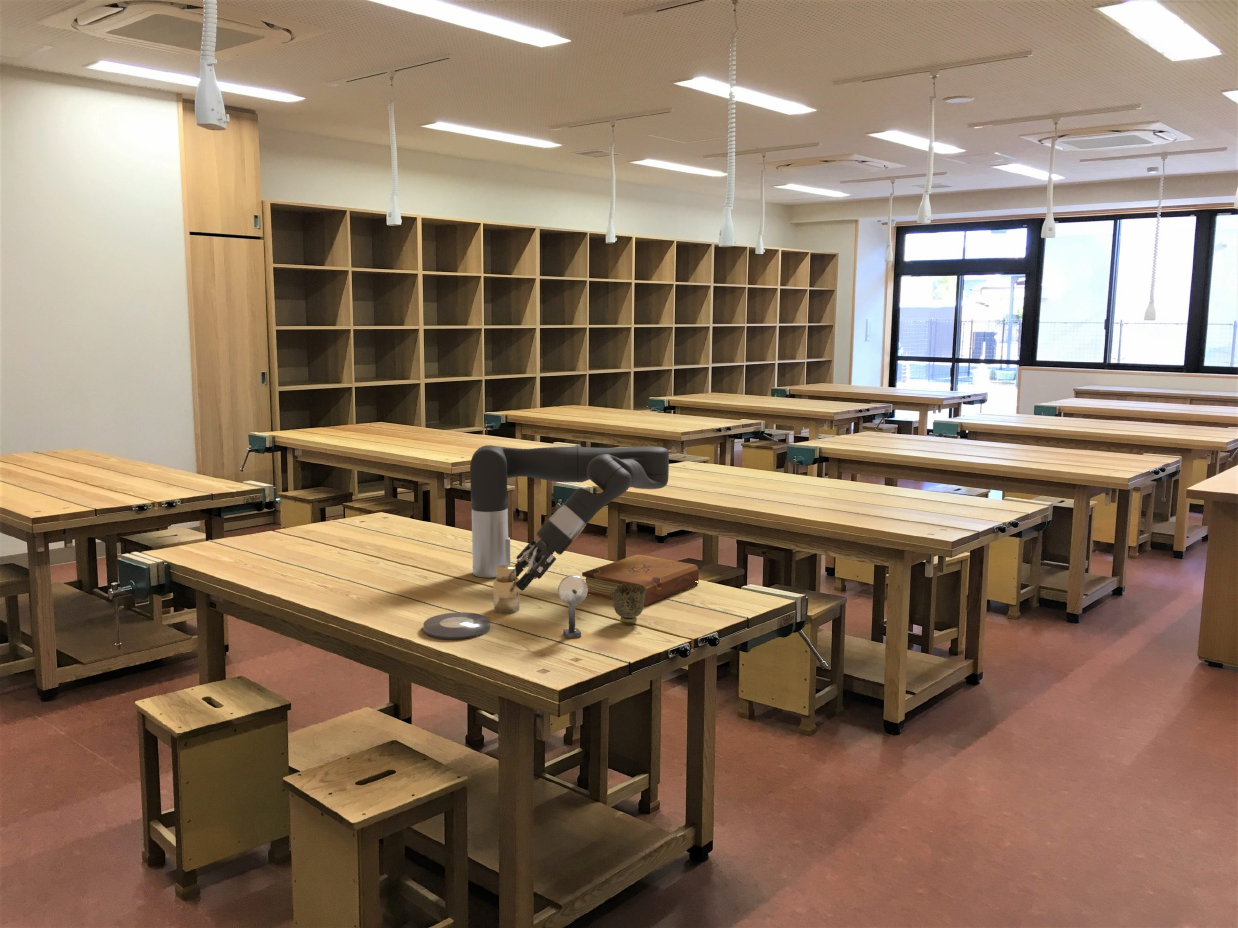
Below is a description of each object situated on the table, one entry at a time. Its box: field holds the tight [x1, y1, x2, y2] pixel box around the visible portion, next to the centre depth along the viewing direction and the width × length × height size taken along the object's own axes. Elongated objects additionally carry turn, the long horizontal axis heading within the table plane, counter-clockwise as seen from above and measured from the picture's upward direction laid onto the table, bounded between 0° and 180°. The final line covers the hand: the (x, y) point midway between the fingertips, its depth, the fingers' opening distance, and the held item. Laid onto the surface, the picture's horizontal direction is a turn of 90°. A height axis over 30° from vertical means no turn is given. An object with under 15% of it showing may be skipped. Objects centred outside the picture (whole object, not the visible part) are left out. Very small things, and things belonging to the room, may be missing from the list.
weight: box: [492, 564, 520, 615], centre depth 215 cm, size 6×6×10 cm
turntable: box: [422, 611, 491, 641], centre depth 202 cm, size 14×14×2 cm
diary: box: [581, 554, 700, 607], centre depth 233 cm, size 23×19×6 cm
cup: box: [611, 583, 646, 626], centre depth 206 cm, size 8×7×8 cm
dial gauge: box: [557, 574, 588, 639], centre depth 197 cm, size 6×4×13 cm, turn 109°
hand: (513, 583), depth 215 cm, fingers open, 8 cm apart
